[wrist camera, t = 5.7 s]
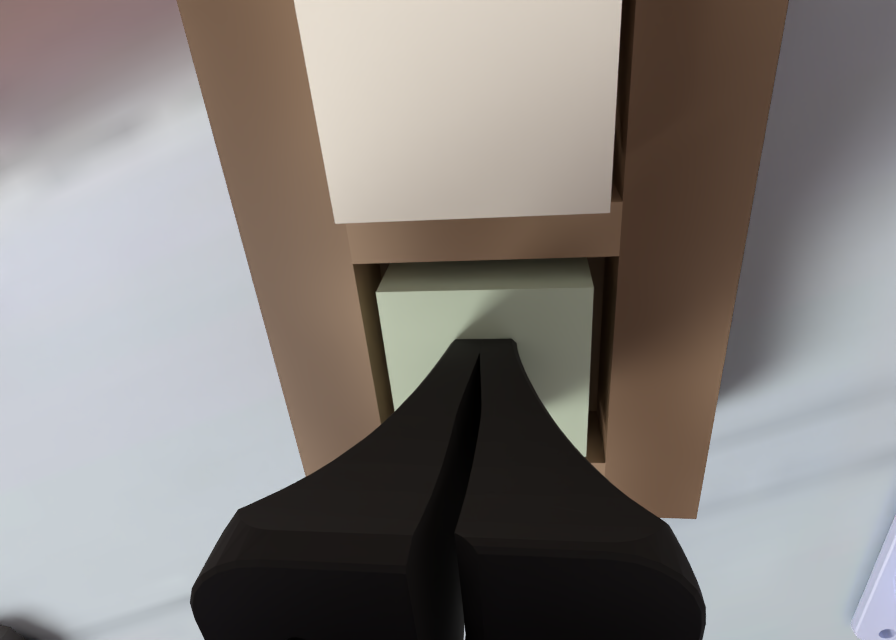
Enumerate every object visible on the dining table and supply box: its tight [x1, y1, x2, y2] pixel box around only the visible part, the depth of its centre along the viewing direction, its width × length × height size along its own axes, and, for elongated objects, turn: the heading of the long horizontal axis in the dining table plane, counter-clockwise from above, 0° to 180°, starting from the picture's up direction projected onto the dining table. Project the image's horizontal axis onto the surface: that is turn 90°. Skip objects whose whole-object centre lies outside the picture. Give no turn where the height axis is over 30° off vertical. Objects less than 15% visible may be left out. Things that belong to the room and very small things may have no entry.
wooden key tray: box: [177, 0, 789, 519], centre depth 11 cm, size 10×22×4 cm, turn 5°
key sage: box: [376, 257, 594, 457], centre depth 14 cm, size 4×4×2 cm
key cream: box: [294, 0, 622, 224], centre depth 9 cm, size 4×4×2 cm
